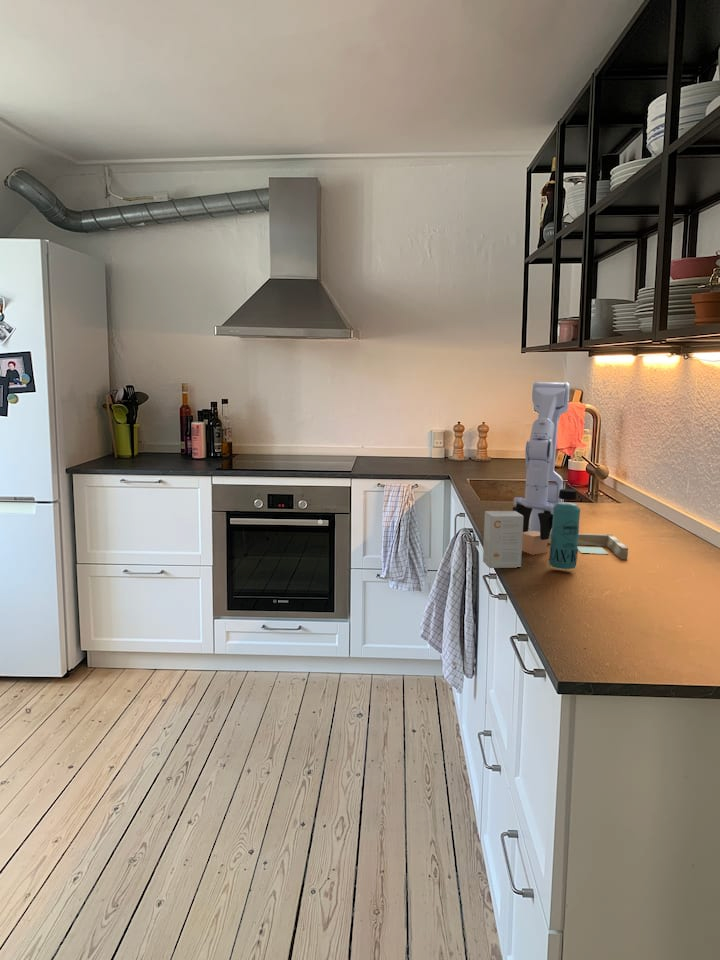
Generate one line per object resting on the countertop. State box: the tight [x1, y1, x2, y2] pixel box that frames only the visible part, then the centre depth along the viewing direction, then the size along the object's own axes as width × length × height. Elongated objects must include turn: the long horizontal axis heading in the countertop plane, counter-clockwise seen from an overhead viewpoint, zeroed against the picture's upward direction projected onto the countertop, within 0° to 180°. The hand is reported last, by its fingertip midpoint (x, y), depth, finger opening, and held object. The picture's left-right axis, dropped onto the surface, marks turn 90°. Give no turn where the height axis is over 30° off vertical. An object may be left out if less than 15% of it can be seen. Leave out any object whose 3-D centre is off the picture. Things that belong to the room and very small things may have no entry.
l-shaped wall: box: [548, 532, 629, 560], centre depth 192 cm, size 15×17×3 cm
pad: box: [577, 545, 609, 555], centre depth 192 cm, size 7×7×1 cm
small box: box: [482, 510, 524, 569], centre depth 176 cm, size 8×6×13 cm
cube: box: [522, 531, 549, 556], centre depth 190 cm, size 5×5×5 cm
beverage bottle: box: [548, 488, 581, 570], centre depth 171 cm, size 6×7×20 cm
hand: (533, 536), depth 190 cm, fingers open, 7 cm apart
